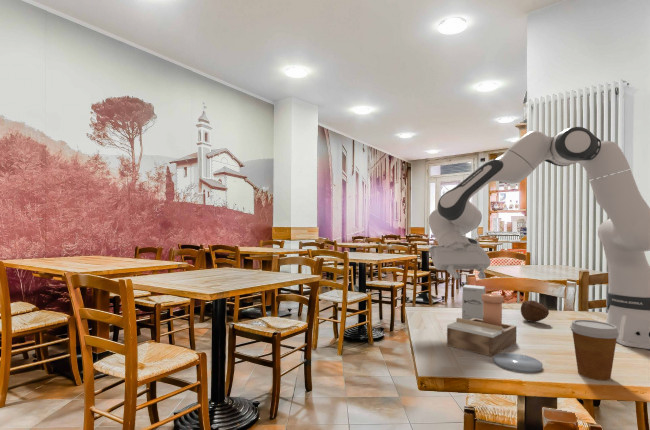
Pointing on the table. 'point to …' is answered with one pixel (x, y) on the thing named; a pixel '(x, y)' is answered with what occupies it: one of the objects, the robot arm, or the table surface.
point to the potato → (533, 311)
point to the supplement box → (472, 302)
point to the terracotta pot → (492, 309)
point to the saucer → (518, 362)
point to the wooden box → (482, 340)
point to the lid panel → (476, 327)
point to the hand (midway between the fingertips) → (470, 278)
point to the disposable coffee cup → (594, 348)
